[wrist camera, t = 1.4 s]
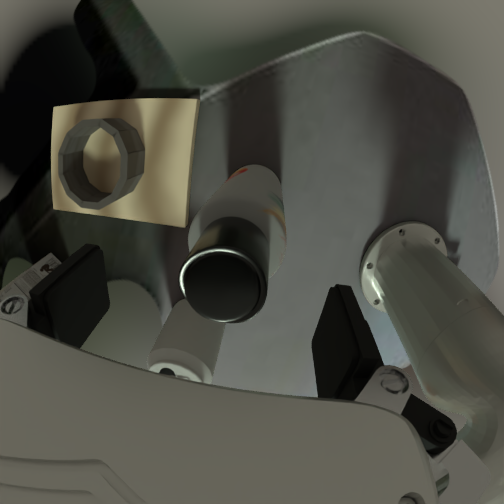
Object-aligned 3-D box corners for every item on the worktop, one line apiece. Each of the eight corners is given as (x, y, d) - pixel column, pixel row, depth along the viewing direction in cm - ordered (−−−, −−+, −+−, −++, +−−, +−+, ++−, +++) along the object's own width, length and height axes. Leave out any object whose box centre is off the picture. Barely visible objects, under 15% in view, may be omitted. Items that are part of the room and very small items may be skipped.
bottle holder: (200, 100, 26) (184, 94, 21) (187, 224, 32) (173, 241, 27) (59, 106, 26) (33, 108, 21) (58, 206, 32) (34, 218, 27)
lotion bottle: (217, 192, 30) (133, 294, 12) (251, 152, 28) (204, 195, 10) (257, 225, 31) (232, 362, 13) (292, 187, 29) (320, 290, 11)
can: (179, 285, 35) (144, 348, 24) (233, 306, 36) (217, 376, 25) (168, 325, 38) (139, 388, 27) (217, 343, 39) (200, 410, 28)
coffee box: (65, 308, 40) (13, 369, 25) (40, 285, 38) (-16, 339, 24) (77, 276, 36) (12, 341, 22) (50, 250, 35) (-20, 305, 20)
